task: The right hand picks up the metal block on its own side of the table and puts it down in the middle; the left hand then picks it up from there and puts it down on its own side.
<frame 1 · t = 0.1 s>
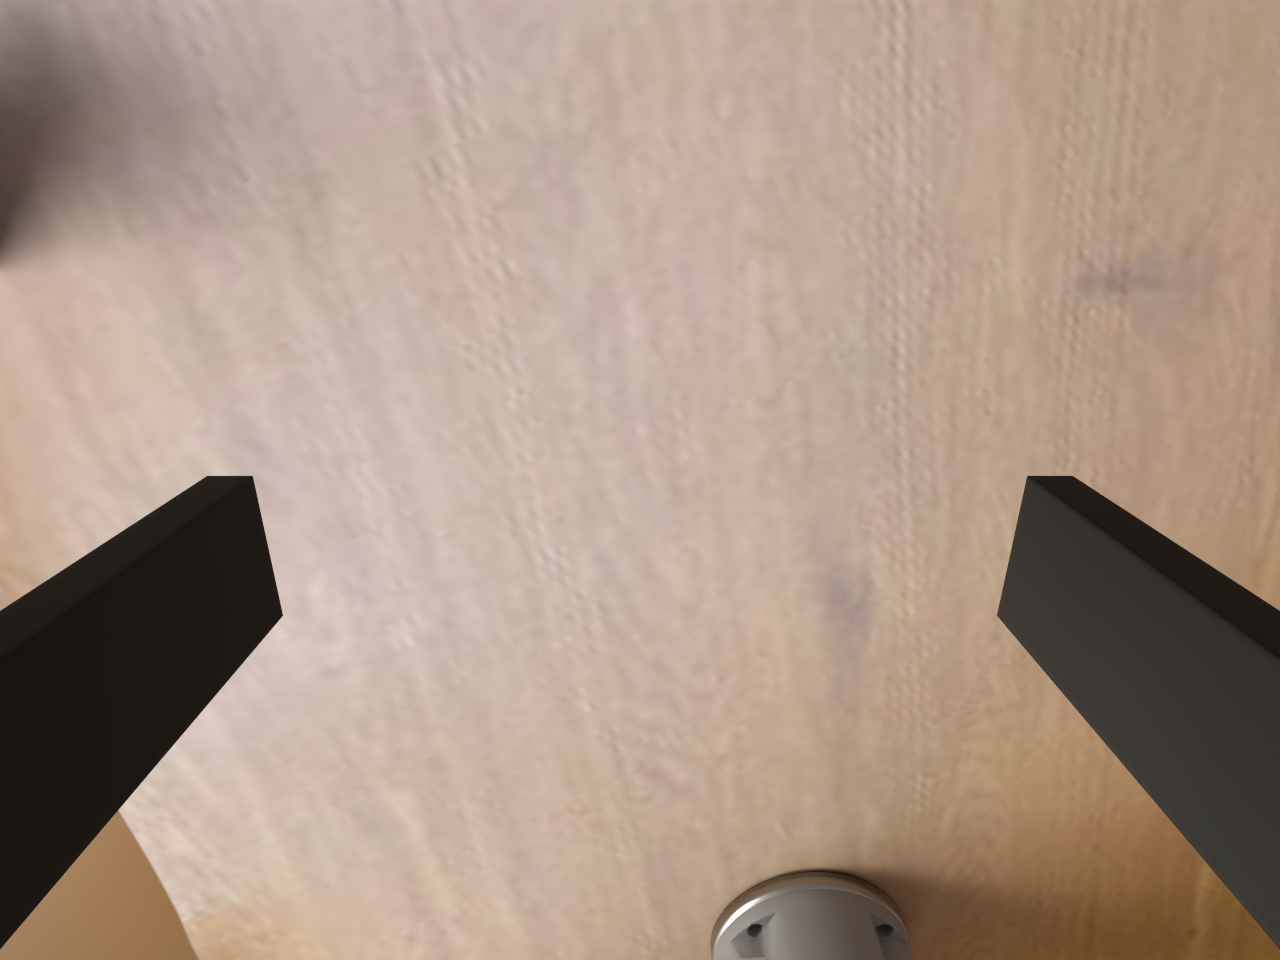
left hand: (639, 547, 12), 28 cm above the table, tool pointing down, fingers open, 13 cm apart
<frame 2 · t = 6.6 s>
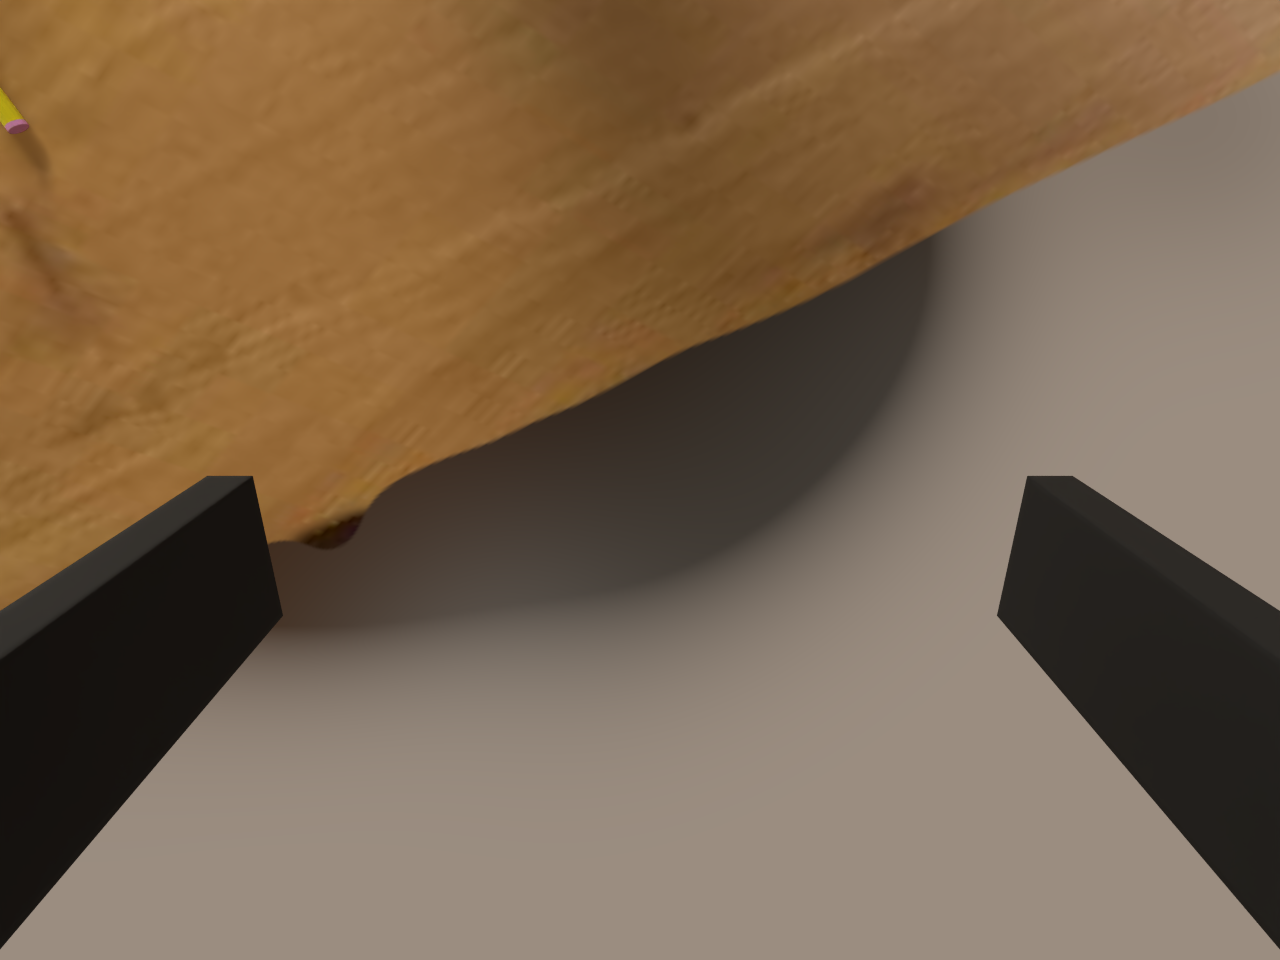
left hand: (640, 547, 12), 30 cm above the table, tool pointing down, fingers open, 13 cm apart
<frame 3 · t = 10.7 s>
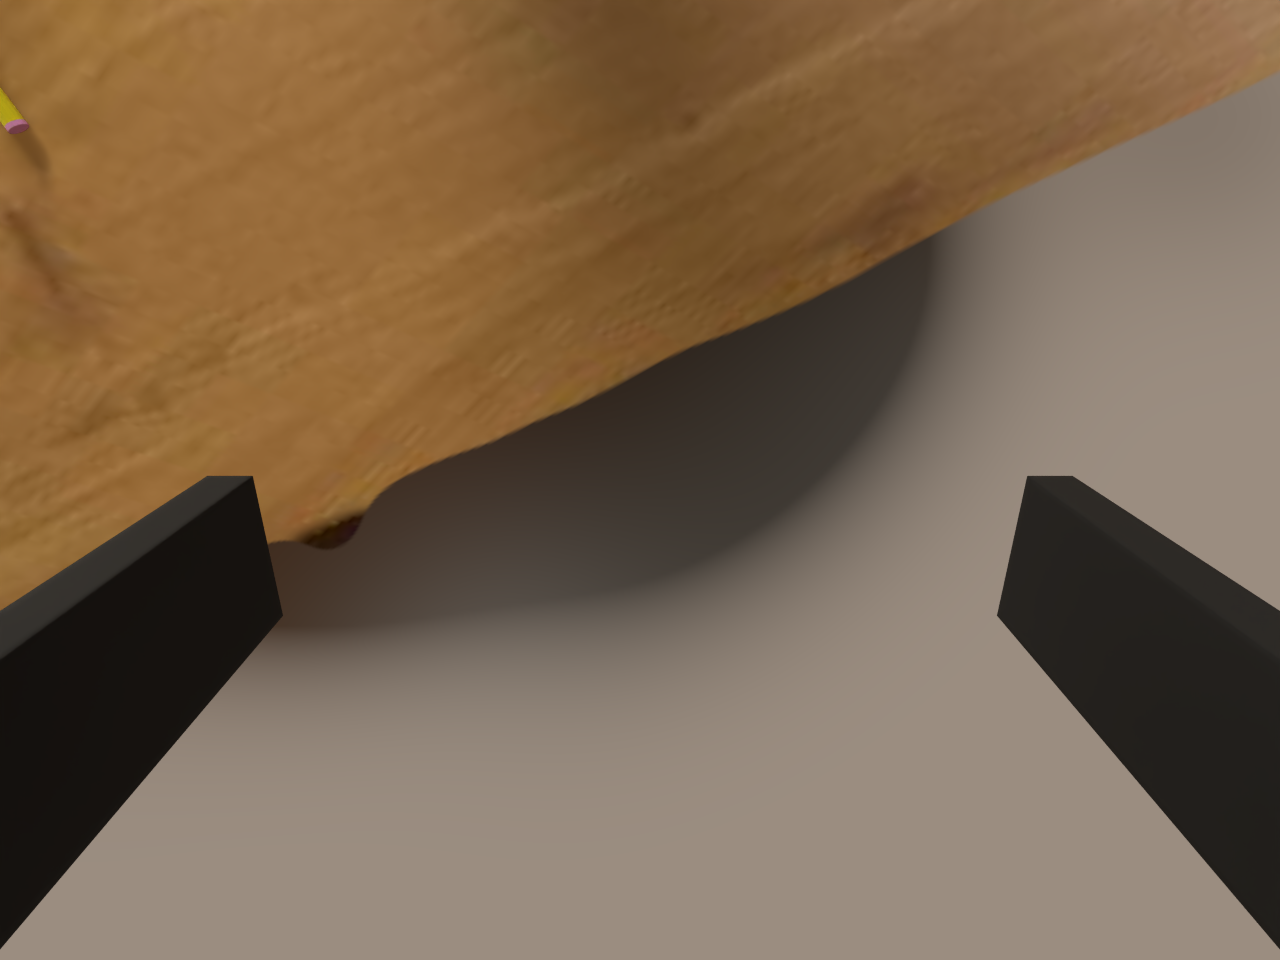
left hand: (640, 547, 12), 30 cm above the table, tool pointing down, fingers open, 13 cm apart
when the right hand's fingers open (2 cm above the table, at t = 15.1 s): block drops 1 cm, on the table.
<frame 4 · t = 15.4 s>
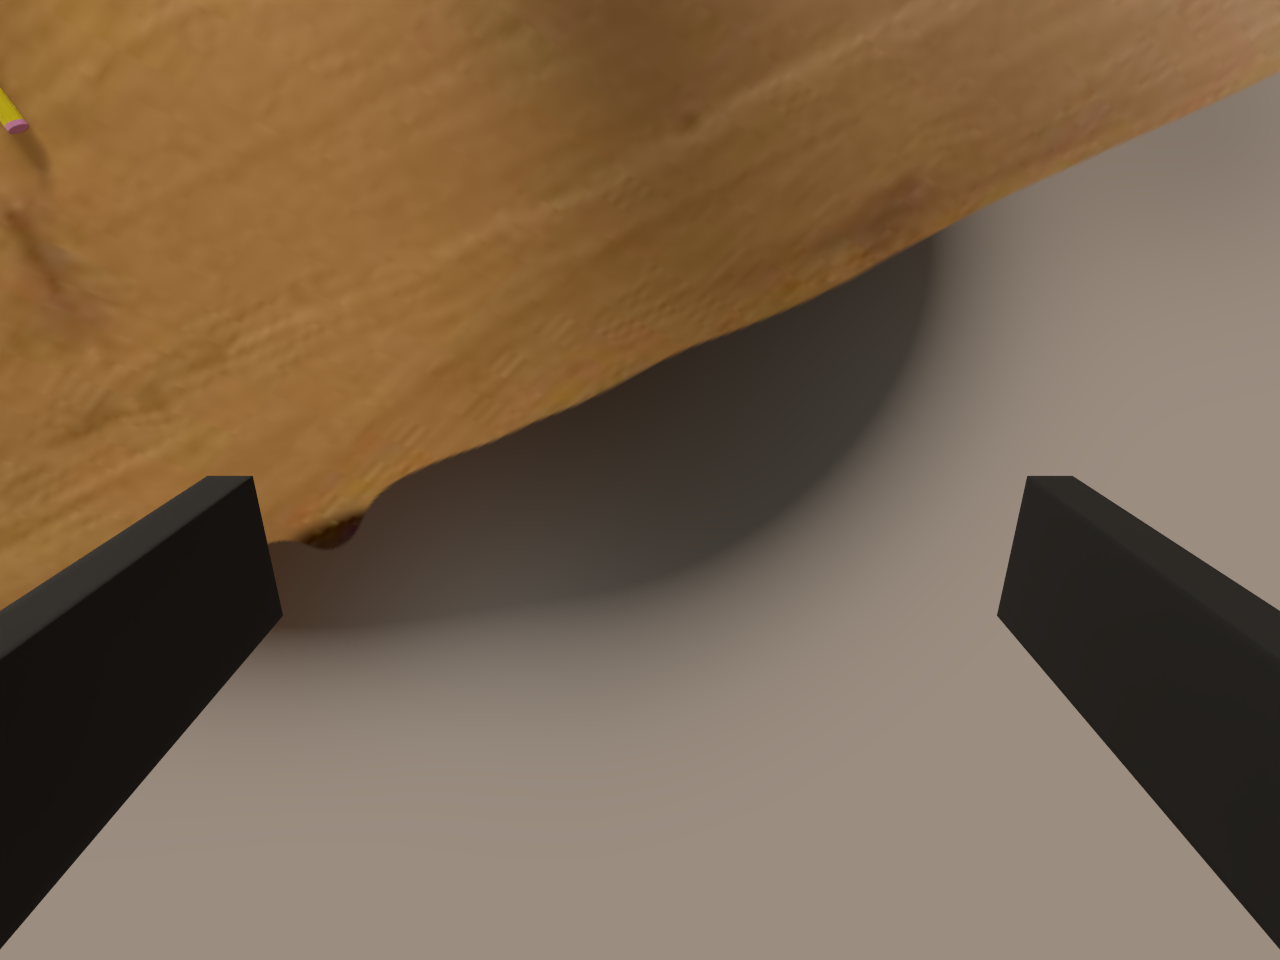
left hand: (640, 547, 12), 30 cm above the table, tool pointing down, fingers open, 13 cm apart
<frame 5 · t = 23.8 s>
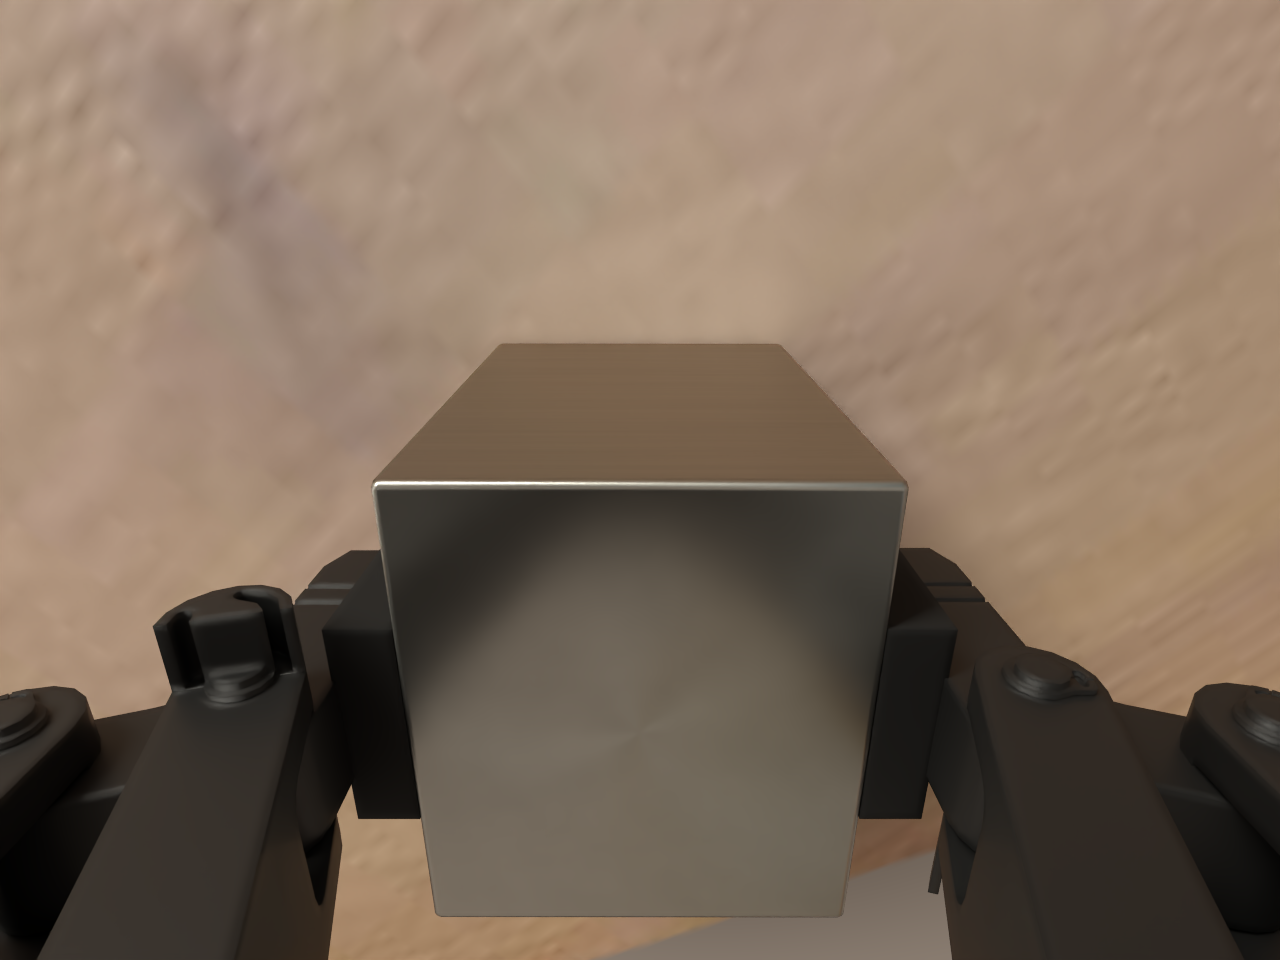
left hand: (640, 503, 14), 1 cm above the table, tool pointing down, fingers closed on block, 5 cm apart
block: (639, 492, 15), on the table, touching left hand
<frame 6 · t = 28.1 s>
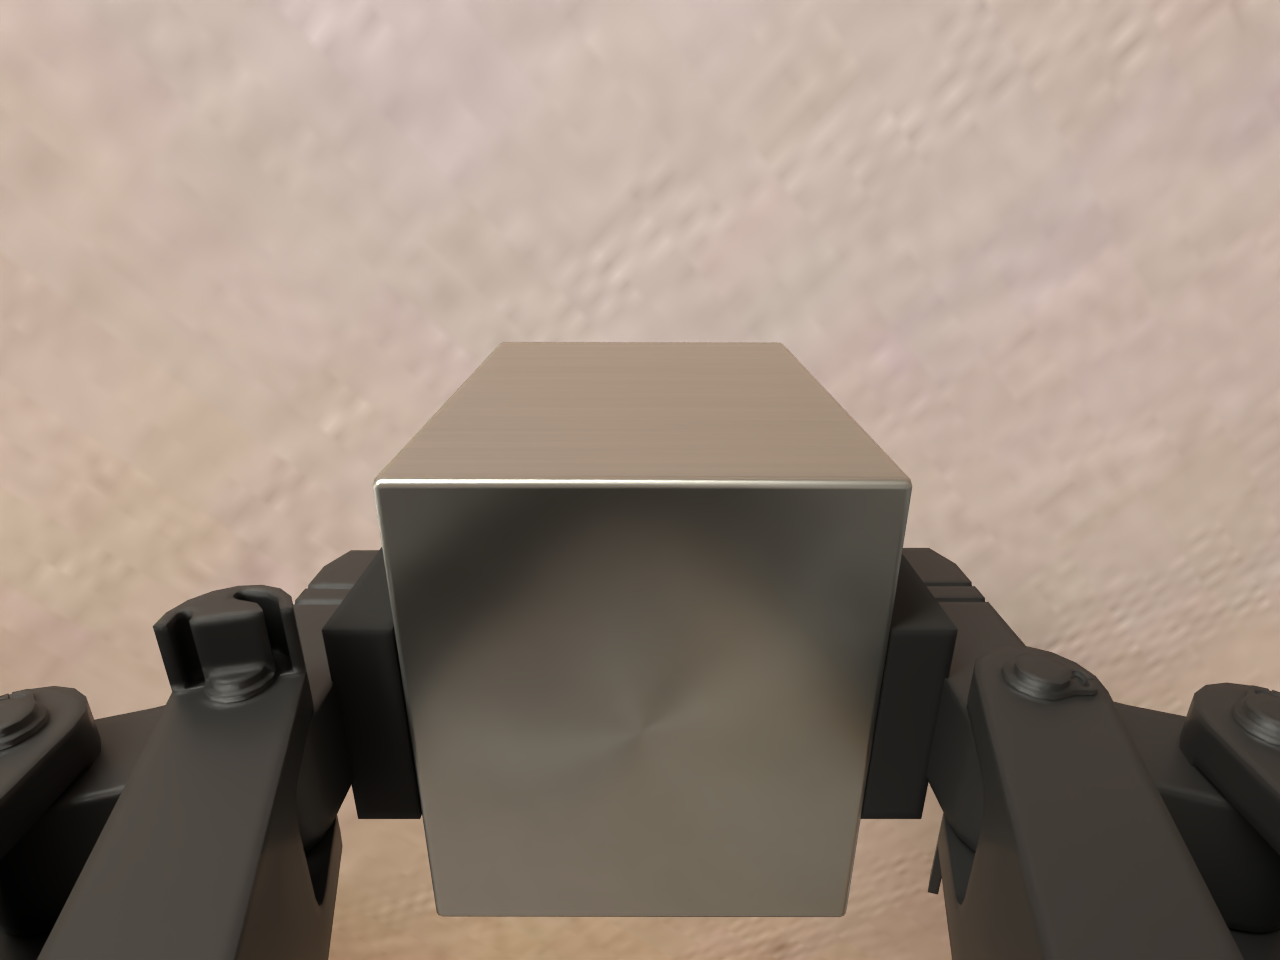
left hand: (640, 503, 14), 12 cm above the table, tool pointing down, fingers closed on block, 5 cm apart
block: (641, 492, 15), point 11 cm above the table, touching left hand
when the left hand's fingers open (2 cm above the table, at t = 32.3 s): block drops 1 cm, on the table.
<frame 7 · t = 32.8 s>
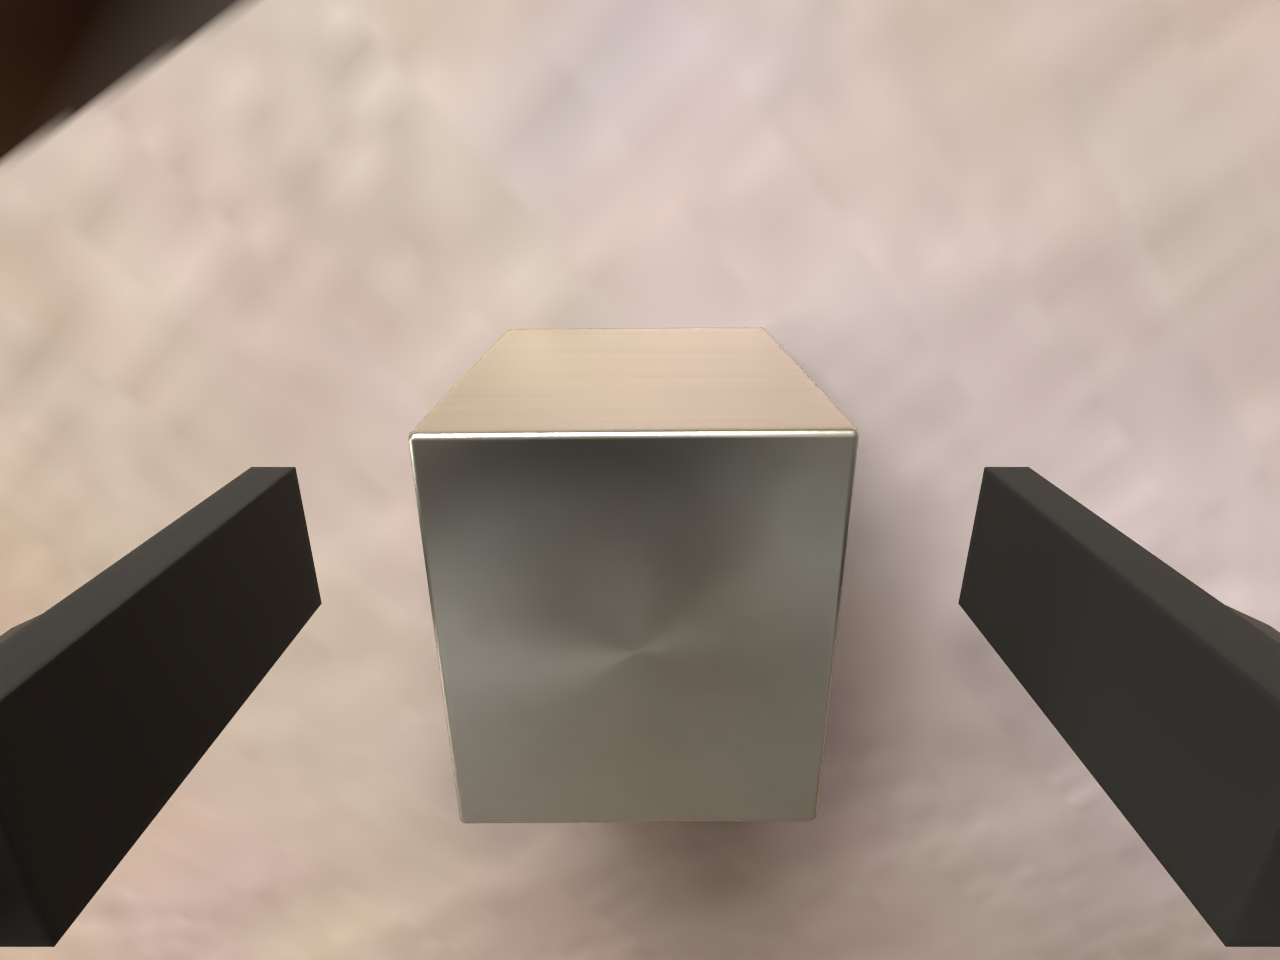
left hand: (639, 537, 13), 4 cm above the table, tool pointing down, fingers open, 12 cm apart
block: (637, 465, 16), on the table
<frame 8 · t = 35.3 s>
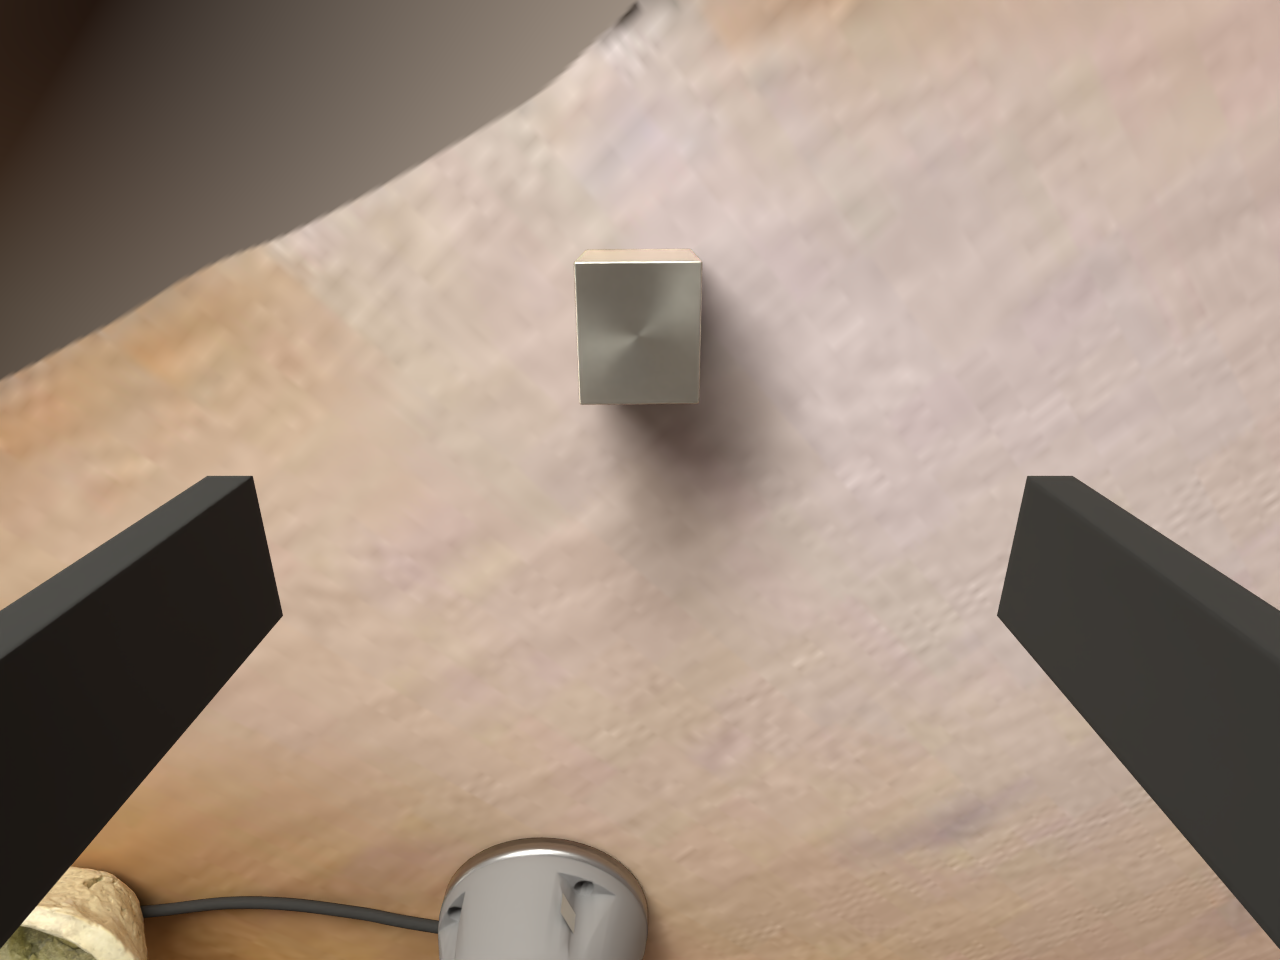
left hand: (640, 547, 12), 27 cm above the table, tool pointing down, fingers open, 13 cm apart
bowl: (91, 896, 53), on the table
block: (638, 310, 37), on the table
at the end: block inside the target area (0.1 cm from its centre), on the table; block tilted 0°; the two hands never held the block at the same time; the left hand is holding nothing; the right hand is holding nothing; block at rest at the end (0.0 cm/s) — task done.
